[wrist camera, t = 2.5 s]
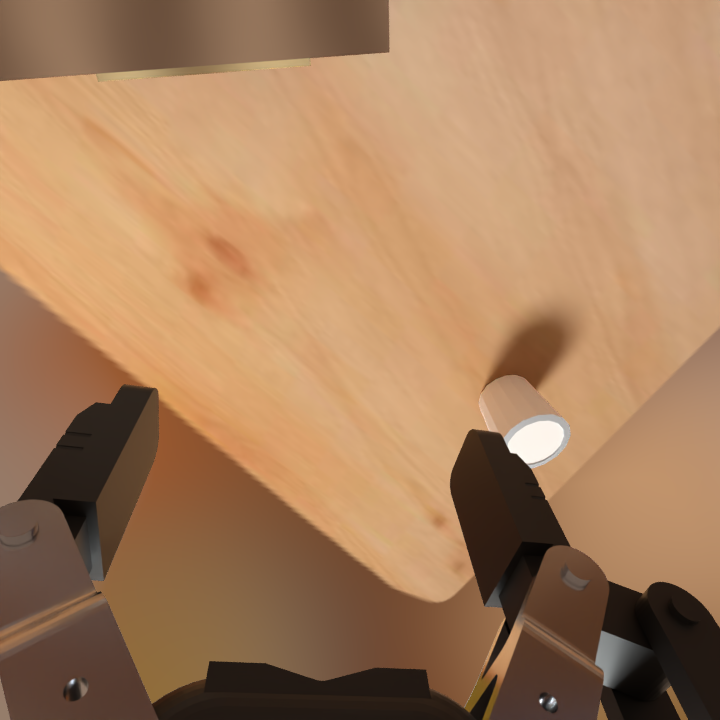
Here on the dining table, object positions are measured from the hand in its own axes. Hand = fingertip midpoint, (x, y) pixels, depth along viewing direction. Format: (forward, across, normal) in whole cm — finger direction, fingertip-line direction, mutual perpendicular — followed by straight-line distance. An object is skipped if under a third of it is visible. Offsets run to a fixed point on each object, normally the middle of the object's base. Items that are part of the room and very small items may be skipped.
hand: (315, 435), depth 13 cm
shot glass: (+30, -22, +17) cm, 41 cm away
